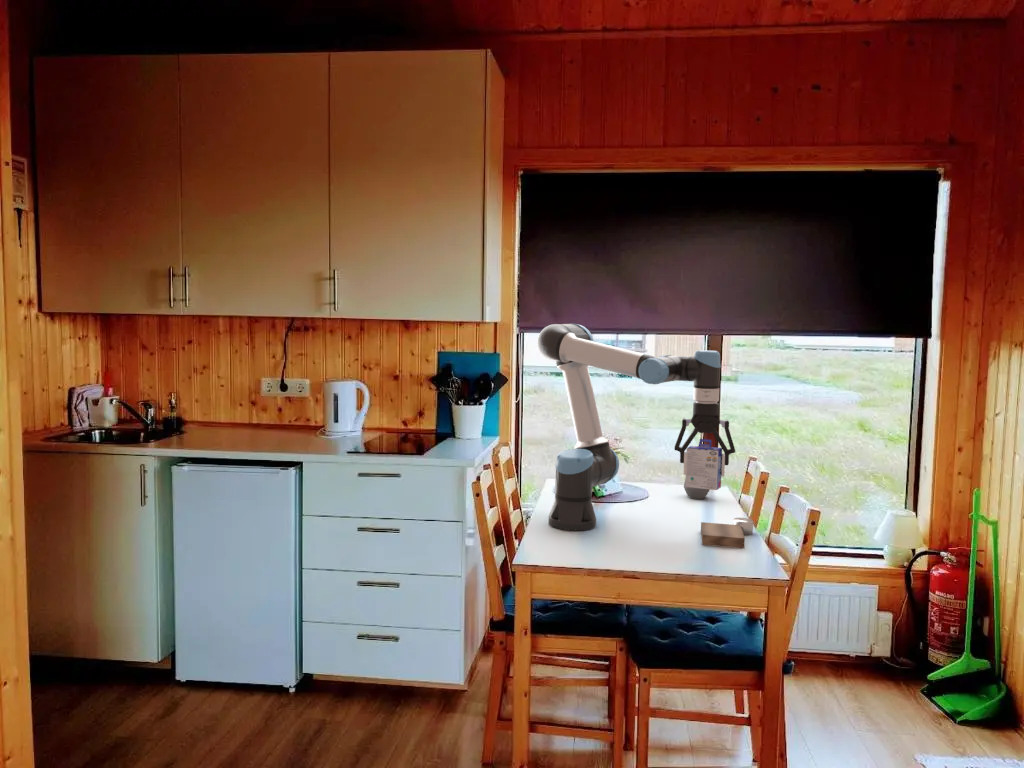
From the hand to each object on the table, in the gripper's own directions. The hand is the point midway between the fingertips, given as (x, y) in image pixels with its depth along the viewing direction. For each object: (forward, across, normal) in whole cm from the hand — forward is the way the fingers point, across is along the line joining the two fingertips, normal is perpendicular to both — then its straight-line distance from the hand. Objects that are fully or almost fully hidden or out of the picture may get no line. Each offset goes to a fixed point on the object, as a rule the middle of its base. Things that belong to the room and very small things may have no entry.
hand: (703, 474), depth 242 cm
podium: (+20, +6, +1) cm, 21 cm away
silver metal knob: (+20, +13, +11) cm, 26 cm away
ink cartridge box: (+4, 0, 0) cm, 4 cm away
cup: (+19, -1, +53) cm, 56 cm away
